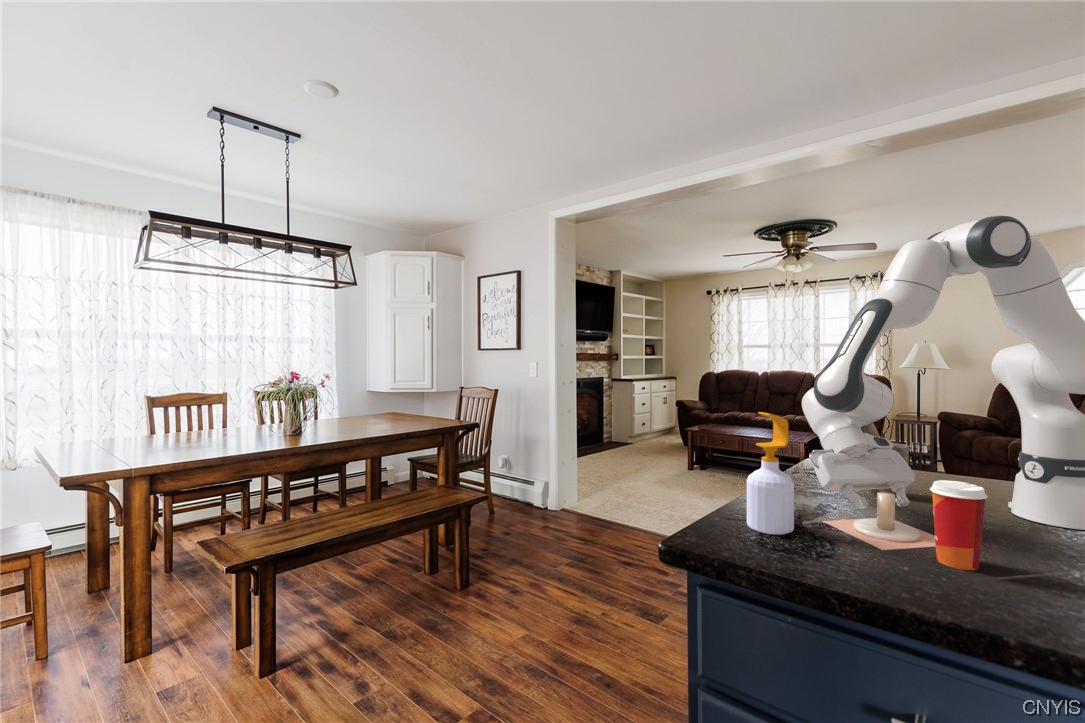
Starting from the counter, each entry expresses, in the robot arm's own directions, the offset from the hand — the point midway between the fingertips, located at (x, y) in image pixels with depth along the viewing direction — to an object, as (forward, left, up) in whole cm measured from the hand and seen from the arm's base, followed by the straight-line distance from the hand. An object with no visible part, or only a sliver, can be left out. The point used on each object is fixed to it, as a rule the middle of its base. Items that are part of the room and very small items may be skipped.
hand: (884, 506), depth 101 cm
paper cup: (0, +15, -6) cm, 16 cm away
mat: (0, 0, -6) cm, 6 cm away
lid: (0, 0, -5) cm, 5 cm away
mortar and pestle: (-22, -24, -6) cm, 33 cm away
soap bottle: (+21, -7, -6) cm, 23 cm away
